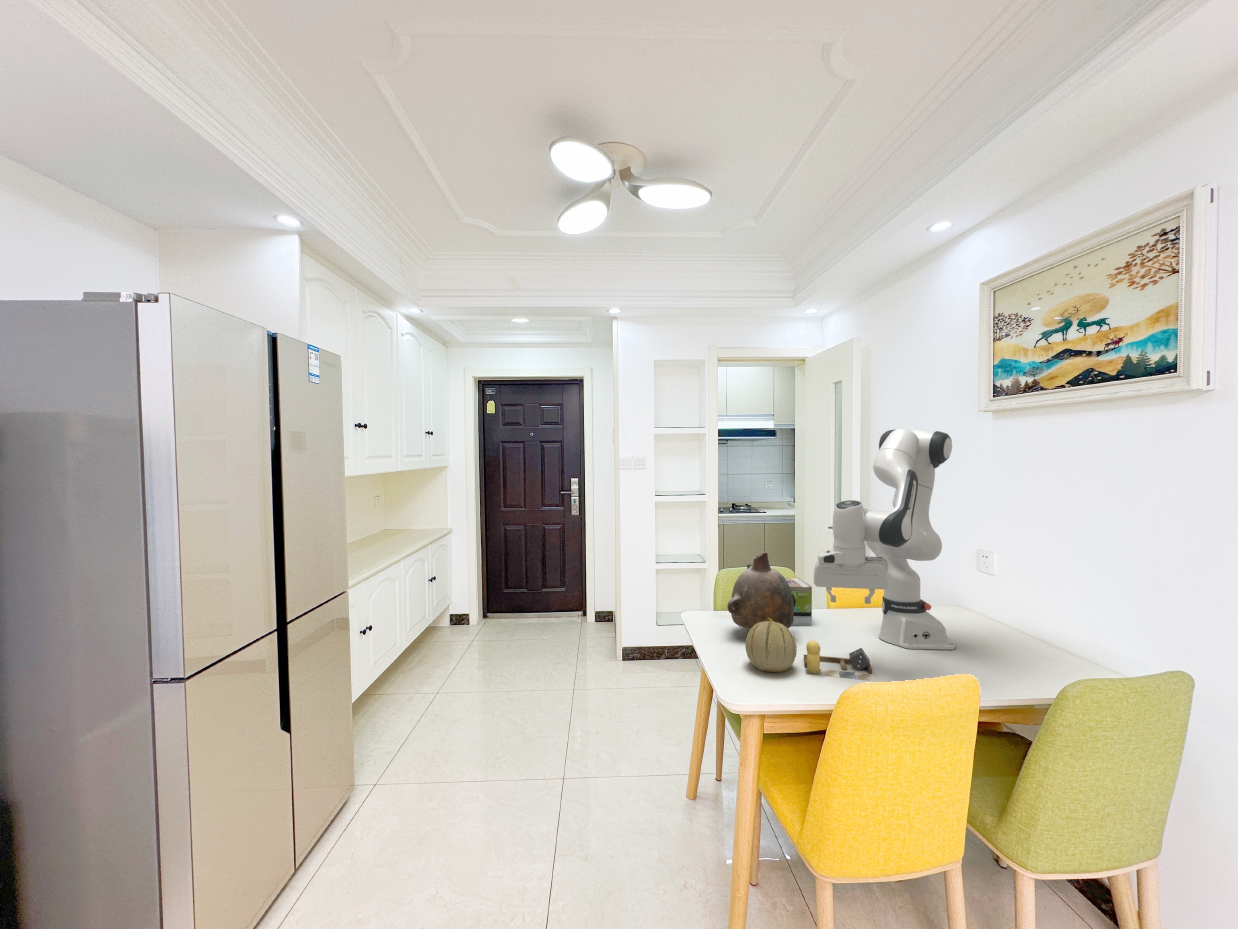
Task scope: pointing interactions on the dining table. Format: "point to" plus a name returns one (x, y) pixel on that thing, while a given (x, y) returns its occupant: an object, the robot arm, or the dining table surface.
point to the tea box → (801, 601)
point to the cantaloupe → (771, 646)
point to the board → (842, 673)
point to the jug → (761, 596)
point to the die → (859, 659)
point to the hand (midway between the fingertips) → (850, 602)
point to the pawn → (813, 657)
